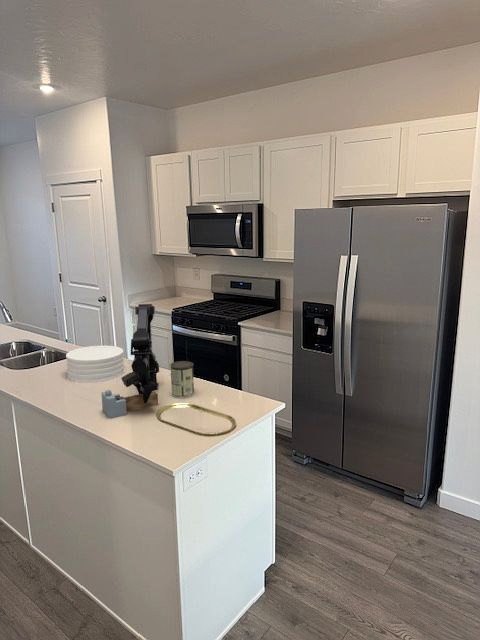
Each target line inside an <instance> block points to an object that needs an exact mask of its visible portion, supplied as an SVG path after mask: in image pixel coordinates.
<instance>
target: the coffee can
mask: <svg viewBox="0 0 480 640" xmlns="http://www.w3.org/2000/svg"><path fill="white" fill-rule="evenodd" d="M169 367H170V381H171V385H170V386H171V396H172V397H174V398H179V399H186V398H190V397H192V396H194V394H195V384H194V383H195V382H194V363H193V362H191V361H188V360H179V361H174V362H172V363H170V365H169Z"/></svg>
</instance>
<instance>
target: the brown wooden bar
mask: <svg viewBox="0 0 480 640" xmlns="http://www.w3.org/2000/svg"><path fill="white" fill-rule="evenodd" d="M158 395H159V394H158V392H156V390H155V391H152V393H151V395H150V397H149V399H148V401H147V403H144V400H143V395H142V394H134V395H129V396H122V395H121V396H120V397H118V400H122V399H125V400H126V413H128V412H132V411H137V410H140V409H146V408H150V407H153V406H155V407H156V406H158V405H159V396H158Z"/></svg>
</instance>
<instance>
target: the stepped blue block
mask: <svg viewBox="0 0 480 640" xmlns="http://www.w3.org/2000/svg"><path fill="white" fill-rule="evenodd" d="M100 393H101V403H102V404H101V406H102V412H103V413H104V414H105V415H106V416H107V418H108V419H113V418H117V417H118V418H119V417H121V416H126V415H127V412H126V400H125V399H122V400H118V397H121V394H119V393H115V394H113V393H112V390H110V389H107V390H105V391H102V392H100Z"/></svg>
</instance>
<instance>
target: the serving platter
mask: <svg viewBox="0 0 480 640" xmlns="http://www.w3.org/2000/svg"><path fill="white" fill-rule="evenodd" d="M177 408H188V409H193V410H197V411H200V412H203V413H207V414H210V415H212V416H216V417H219V418H222V419H225V420H228V421H229V422H230V423H231V426H230V428H229V429H227V430H223V431H221V432H210V433H208V432H207V433H206V432H199V431H195V430H193V429H190V428H187V427H185V426H181V425H179V424H176V423H172V422H170V421H168V420H164V419H163V418H162V417H161V416H162V414H163V413H164V412H166V411H168V410H170V409H171V410H172V409H177ZM156 417H157V418H158V419H159V420H160V421H162V422H164V423H166V424H169V425H172V426H175V427H178V428H180V429H183V430H185V431H188V432H191V433H195V434H197V435H201V436H220V435H222V434H226V433H228V432H230V431H231V430H233V429H234V428H235V426H236V424H237V422H236V418H234V416H231V415H229V414H227V413H223V412H220V411H217V410H214V409H210V408H208V407H207V408H206V407H204V406H201V405H198V404H194V403H188V402H187V403H185V402H183V403H182V402H180V403H171V404H167V405H165V406H162V407H160V408H159V409H158V410H157V411H156Z"/></svg>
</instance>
